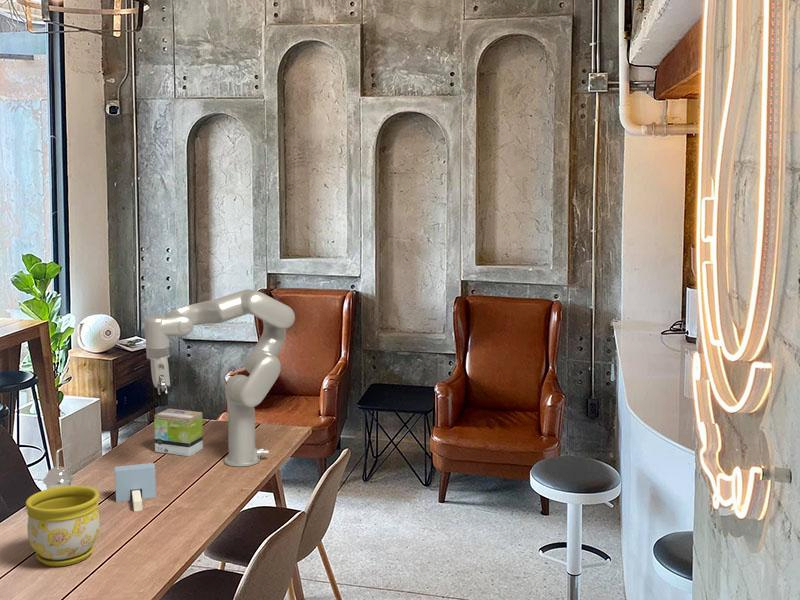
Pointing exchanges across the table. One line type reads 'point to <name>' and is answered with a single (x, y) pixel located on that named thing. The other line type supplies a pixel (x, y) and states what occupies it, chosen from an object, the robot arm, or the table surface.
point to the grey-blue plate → (135, 481)
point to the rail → (136, 500)
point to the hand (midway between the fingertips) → (161, 402)
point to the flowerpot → (63, 524)
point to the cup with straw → (58, 474)
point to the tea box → (178, 432)
